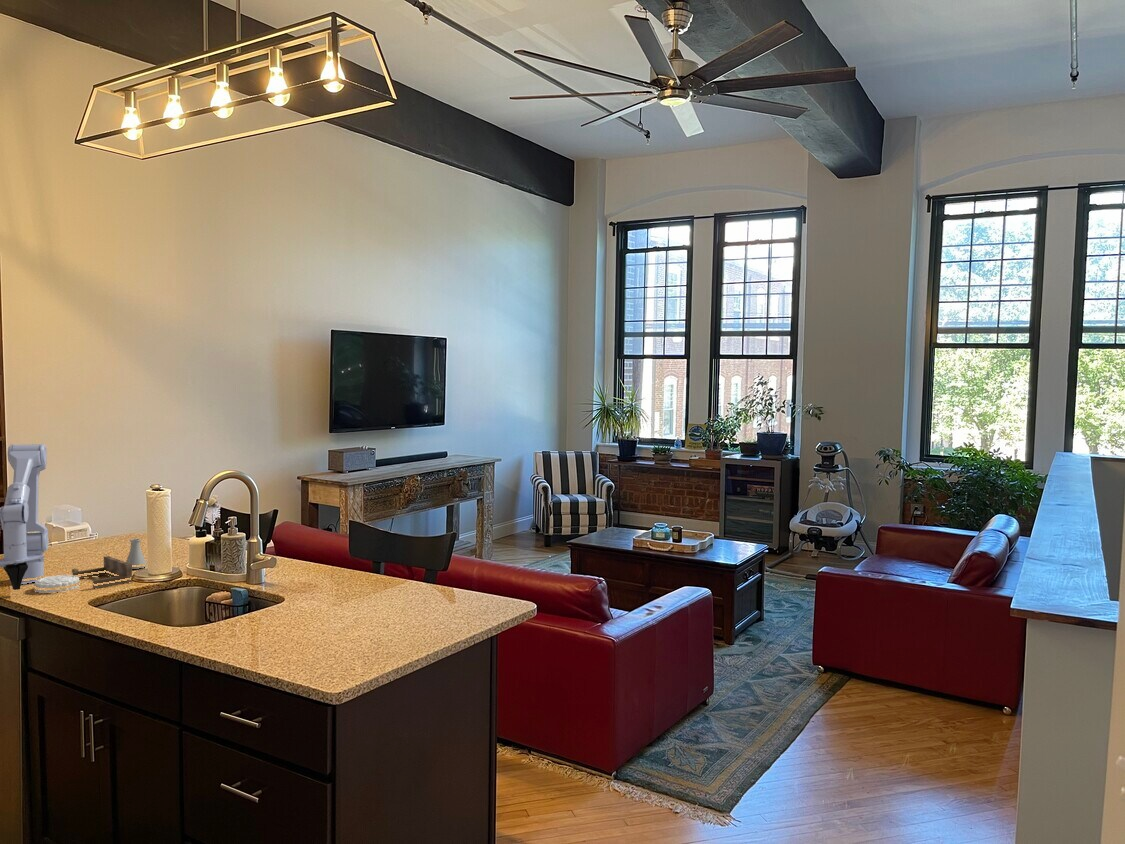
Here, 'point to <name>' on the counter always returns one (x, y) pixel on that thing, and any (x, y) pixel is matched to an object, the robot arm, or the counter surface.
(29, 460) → the robot arm
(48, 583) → the mooncake
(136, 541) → the flask
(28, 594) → the counter surface
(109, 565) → the lid holder
